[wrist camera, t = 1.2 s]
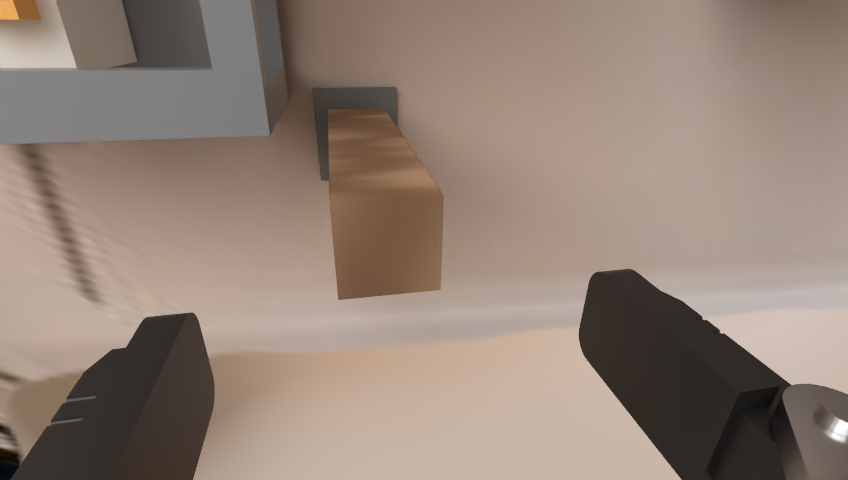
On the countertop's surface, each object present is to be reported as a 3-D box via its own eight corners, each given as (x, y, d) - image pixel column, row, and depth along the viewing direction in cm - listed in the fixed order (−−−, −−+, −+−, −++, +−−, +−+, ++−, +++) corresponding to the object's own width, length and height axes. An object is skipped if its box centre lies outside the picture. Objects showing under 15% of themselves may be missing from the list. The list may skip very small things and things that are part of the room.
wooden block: (383, 107, 24) (443, 195, 12) (384, 160, 25) (440, 289, 13) (327, 108, 24) (329, 202, 11) (332, 162, 25) (338, 299, 13)
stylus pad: (394, 87, 24) (395, 88, 24) (396, 174, 26) (397, 176, 26) (312, 88, 23) (312, 89, 23) (321, 178, 25) (321, 180, 25)
